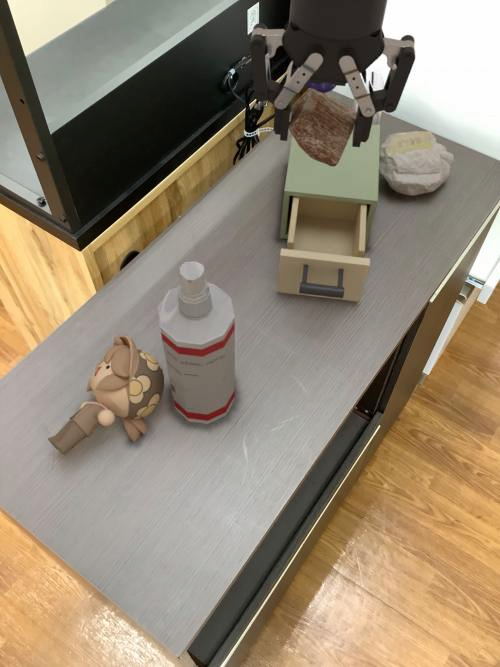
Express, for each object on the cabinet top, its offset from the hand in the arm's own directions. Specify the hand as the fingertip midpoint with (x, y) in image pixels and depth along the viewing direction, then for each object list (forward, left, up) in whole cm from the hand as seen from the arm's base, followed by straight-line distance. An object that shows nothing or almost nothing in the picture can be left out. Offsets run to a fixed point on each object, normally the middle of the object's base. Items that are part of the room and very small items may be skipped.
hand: (319, 137), depth 60 cm
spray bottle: (+10, +14, -30) cm, 34 cm away
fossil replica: (-16, -28, -30) cm, 44 cm away
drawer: (-3, -7, -28) cm, 30 cm away
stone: (0, 0, -1) cm, 1 cm away
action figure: (+21, +19, -30) cm, 41 cm away
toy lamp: (0, -33, -30) cm, 44 cm away
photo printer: (-7, -35, -30) cm, 46 cm away
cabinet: (-3, -21, -29) cm, 36 cm away
